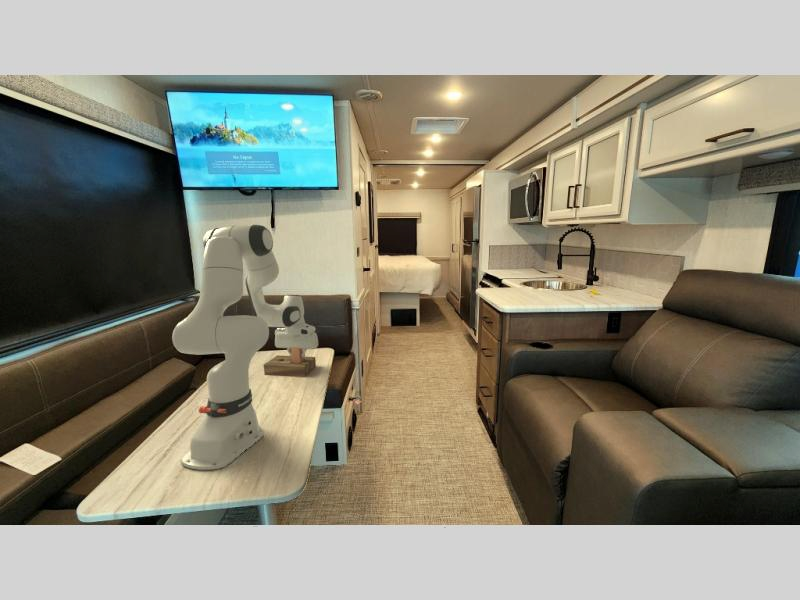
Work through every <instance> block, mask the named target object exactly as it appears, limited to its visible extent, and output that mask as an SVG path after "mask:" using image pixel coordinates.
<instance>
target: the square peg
mask: <svg viewBox="0 0 800 600" xmlns="http://www.w3.org/2000/svg"><path fill="white" fill-rule="evenodd" d="M301 353H303V351H302V349H299V347H291V356H292V363H298V364H301V363H302V362H303V361H304V357H301V355H300V354H301Z"/></svg>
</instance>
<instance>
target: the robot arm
mask: <svg viewBox="0 0 800 600" xmlns="http://www.w3.org/2000/svg"><path fill="white" fill-rule="evenodd" d="M202 245H203V248H204V250H203V251H204V252H203V257H202V271H201V272H202V273H201V285H200V287H201V288H200V295H199V299H198V301H197V303H196V305H195V307H193V310H192V311H191V312H190V313H189V314H188V316H187V317H185V318H184V319H182V320H181V321H179V322H178V323H177V324H176V325H175V327H174V329H173V331H172V334H171V335H172V336H171V340H172V344H173V346H174V347H175V349H176V350H177V351H178V352H180V353H182V354H187V355H199V356H200V355H213V354H214V355H215V354H224V357H225V360H223V361H220V362H219V363H218V364H216V365H214V366H213V367H212V368H210V370H209V371H208V373H207V376H206V385H207V390H208V391H207V393H208V398H207V402H206V403H207V405H206V406H205V405H200V406H199V407H198V413H199V414H204V415H205V416H204V418H202V420H201V422H200V424H199V425H198V427H197V428H196V431H195V432H194V433H193V434H192V436H191V439H190V442H189V443H190V444H189V449H190V450H188V452H187V453H186V454H185V455H184V456H183V457H182V458H181V459H180V460H181V461H180V462H181V464H182V466H184V467H186V468H188V469H193V470H200V471H206V470H207V471H208V470H209V471H210V470H217V469H222V468H225V467H227V466H228V465H229V464H230V463H232V462H233V461H235V460H236V459H237V458H239V457H240V456H241V455H242V454H243V453H245V452H246V451H247V450H248V449H250V448H251V447H252V446H253V445H255V444H256V443H257V442H258V440H259V439H260V438H261V437H262V436H263V437H264V435H263V432H262V431H261V429H260V428H261V427H260V426H259V420H258V417H257V412H256V410H255V408H254V406H253V404H252V402H253V394H252V390H251V388H250V381H249V380H250V378H249V375H250V374H249V371H250V370H249V369H250V364H251V361H252V359H253V358H254V356H255V354H256V353H257V352H258V351H259V350H260V349H262V348H263V347H264V346H265V345H266V344H267V342H268V340H269V335H270V328H271V327H272V328H276V329H275V330H274V335H275V338H274V346H275V347H276V348H278V349H286V351H287V353H288V354H289V356H290V357H292V356H291V347H299V349H302V351H303V353H301V354H300V355H301V357H306V353H307V351H308V350H316V349H317V347H319V339H318V335H317V334H318V333H316V327H315V326H313V325H311V324H308V323H306V320H305V318H304V316H305V307H304V301H303V298H302V296H301V295H299V294H286V295H284V297H283V301H282V302H281V303H280V304H270V303H267V302H266V300H265V295H264V291H263V288H265V287H267V286H268V285H270V284H272V283H273V282H275V280H276V279H277V278H278V276H279V272H280V269H279V268H280V267H279V264H278V262H277V260H276V256H275V253H274V252H273V250H272V249H273V247H274V240H273V236H272V233H271V232H270V230H269V229H268V228H267V227H265V226H264V225H260V224H252V225H229V226H228V225H227V226H223V227H220V228H219V227H216V228H215V227H214V228H212V229H210V230H208V231H206V233H205V234H204V235H203V240H202ZM244 266H245V267H246V270H247V276H246V277H245V286H246V291H247V295H248V298H249V301H250V305H251V310H252V315H249V314H248V315H244V314H243V315H225V316H224V314H225V311H226V310H227V309H228V307H230V306H232V305H234V304H235V303H238V302H239V301H240V300H241V298H242V297H243V296H244ZM269 327H270V328H269ZM263 437H262V438H263ZM262 438H261V439H262ZM261 439H260V440H261ZM260 440H259V441H260ZM255 442H256V443H255ZM254 443H255V444H254ZM249 447H250V448H249ZM246 449H247V450H246ZM245 450H246V451H245ZM244 451H245V452H244ZM242 452H243V453H242ZM241 453H242V454H241ZM240 454H241V455H240ZM235 458H236V459H235Z"/></svg>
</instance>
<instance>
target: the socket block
mask: <svg viewBox="0 0 800 600" xmlns="http://www.w3.org/2000/svg"><path fill="white" fill-rule="evenodd" d="M316 367H317V364H316V356H305V357H304V361H303V362H302V363H301V364H298V363H292V357H290V355H280V354H279V355H276V356H274V357H273V358H271V359H269V360H268V361H267V362H265V363H264V364H263V370H264V371H263V372H264V373H263V374H264V376H278V377H279V376H280V377H295V378H296V377H299V378H306V377H307V376H308V375H309V374H310V373H311V372H312V371H313V370H314V369H316Z"/></svg>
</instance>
